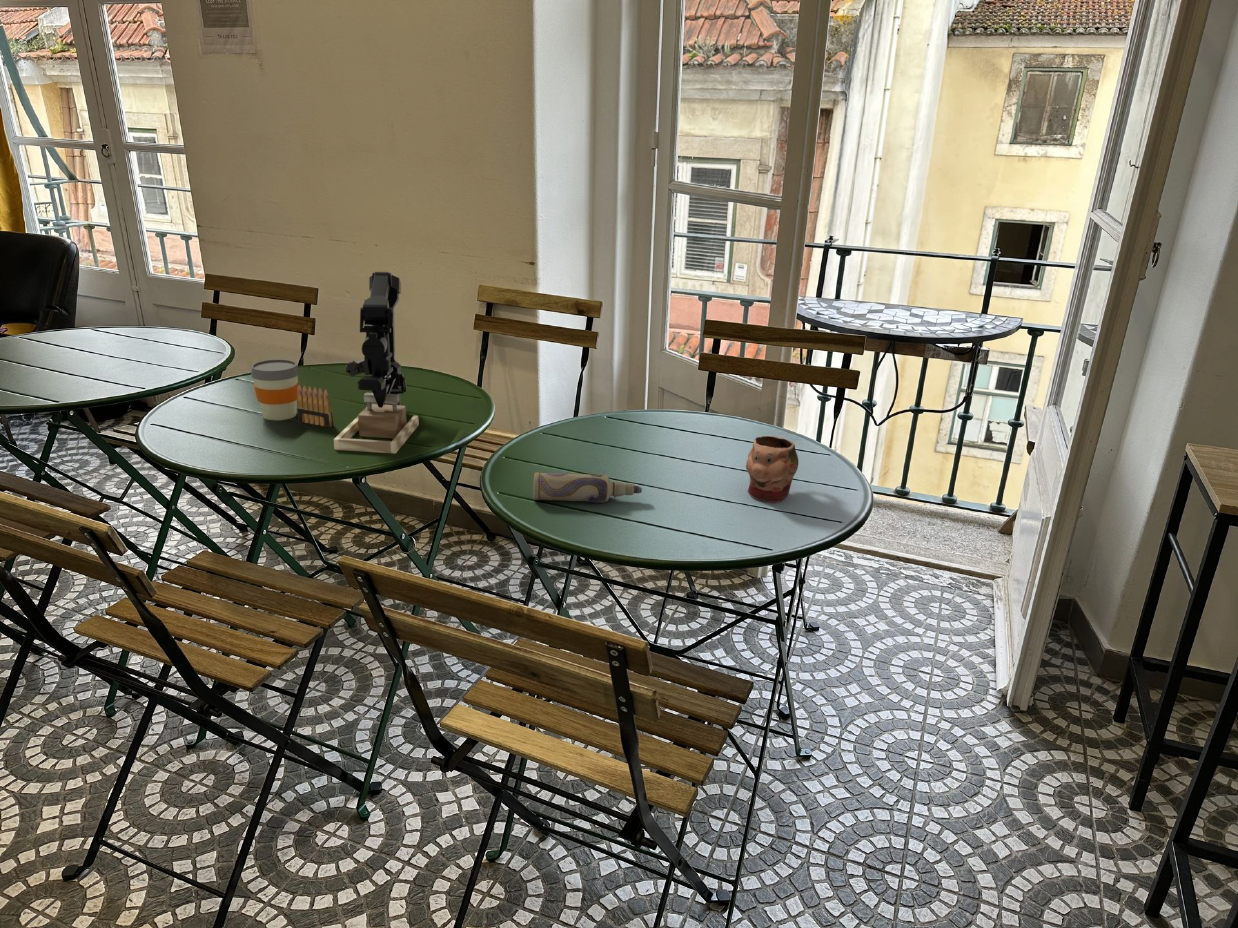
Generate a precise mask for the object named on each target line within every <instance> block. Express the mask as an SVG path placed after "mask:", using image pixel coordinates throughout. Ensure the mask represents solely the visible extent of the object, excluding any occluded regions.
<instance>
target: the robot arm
mask: <svg viewBox="0 0 1238 928" xmlns="http://www.w3.org/2000/svg"><path fill="white" fill-rule="evenodd" d="M368 279H369V280H368V281H369V282H368V283H369V284H368V285H369V288H368V289H369V291H370V296H369V297H368V298H366V299H364V301H363V304H362V307H360V308H359V309H360V311H359V313H360V314H359V317H360V318H359V332H360V333H365V339H364V340H363V343H362V345H361V353H362V354H363V356H364V357H363V358H360V359H357V360H352V361H351V362H350V361H349V362H347V363H346V365H345V372H346V373H347V374H348V375H349V377H351V378H352V377H355V376H357V375H360V374H364V376H362V378H361V379H360V380H358V381H357V390H358V391H371V393H373V395H374V397H375V400H376V402H377V403H376V404H377V405H378V407H379V408H382V407H383V405H392V404H390V403H384V402H385V398H386V395H387V394H396V395H399V402H398V403H397V405H400V406H402V404H401V394H404V393H407V392H408V391H407V379H406V378H405V376H404V373H402V365H401V364H400V363H399V362H398V361H397V360H396V340H395V338H396V337H395V334H396V333H395V308H396V306H397V304H398V303H399V301H400V294H402V282H401V280H400V279H401V278H400V277H398V276H395V275H393V274H392V272H389V271H374V272H372V273H371V276H369V278H368Z"/></svg>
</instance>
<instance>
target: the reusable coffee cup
mask: <svg viewBox="0 0 1238 928" xmlns="http://www.w3.org/2000/svg"><path fill="white" fill-rule="evenodd" d="M297 363H298V362H296V361H294V360H290V359H282V358H281V359H278V358H277V359H276V358H275V359H265V360H260V361H257V362H255V363H252V365H251V368H250V369H251V370H250V371H251V374H250V375H251V378H253V382H254V384H253V388H254V392H255V396H256V399H257V402H259V405H260V409H261V411H262V416H263V418H264V419H265V420H268V421H285V420H289V419H292V418H294V417H296V416H297V415H298V410H297V409H298V385H299V384H300V381H299V374H300V373H299V367H298V364H297Z"/></svg>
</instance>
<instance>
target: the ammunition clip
mask: <svg viewBox="0 0 1238 928" xmlns="http://www.w3.org/2000/svg"><path fill="white" fill-rule="evenodd" d="M329 397H330V396H329V393H328V390H327V389H326V388H325V389H324V392H323V390H322V388H321V387H319V388H318V390H317V387H316V386H314V387H313V390H312V387H311V386H308V389H307V387H306V385H305V384H304V385H303V387H302V386H301V385H300V383H299V385H298V399H297V420H298V426H299V427H304V428H310V429H311V428H312V427H314V426H321V427H325V428H331V427H334V420H333V419H334V417H333V412H332V411H331V410H332V409H331V403H330V398H329Z"/></svg>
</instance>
